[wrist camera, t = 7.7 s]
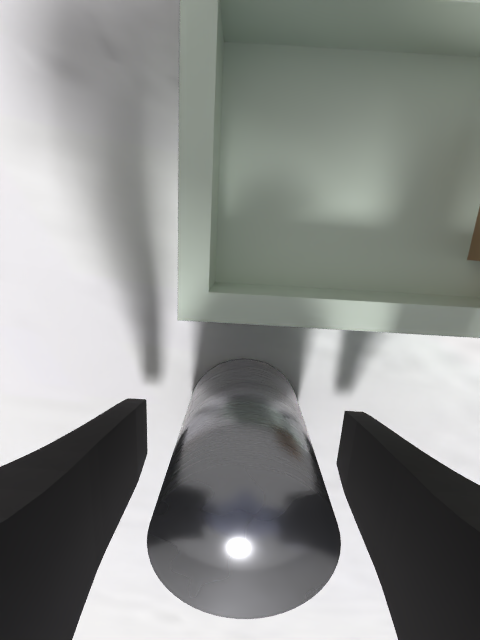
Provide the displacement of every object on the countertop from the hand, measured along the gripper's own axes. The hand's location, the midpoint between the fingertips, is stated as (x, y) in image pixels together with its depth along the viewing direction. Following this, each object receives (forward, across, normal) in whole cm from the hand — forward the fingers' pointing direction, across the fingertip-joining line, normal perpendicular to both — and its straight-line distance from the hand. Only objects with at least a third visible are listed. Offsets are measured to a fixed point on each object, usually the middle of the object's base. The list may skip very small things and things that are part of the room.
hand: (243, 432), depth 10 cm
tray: (+1, -5, -8) cm, 10 cm away
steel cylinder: (+1, 0, 0) cm, 1 cm away
